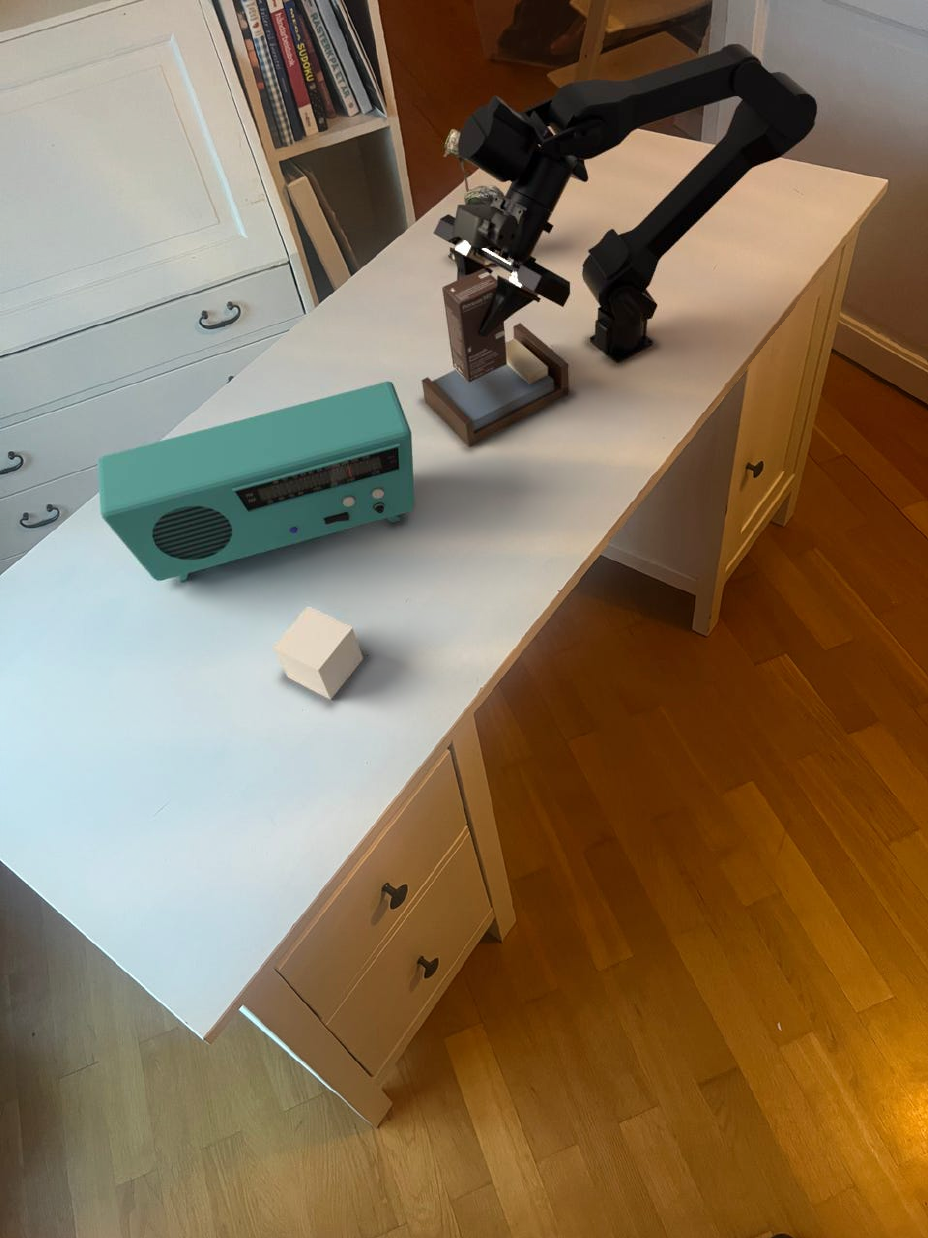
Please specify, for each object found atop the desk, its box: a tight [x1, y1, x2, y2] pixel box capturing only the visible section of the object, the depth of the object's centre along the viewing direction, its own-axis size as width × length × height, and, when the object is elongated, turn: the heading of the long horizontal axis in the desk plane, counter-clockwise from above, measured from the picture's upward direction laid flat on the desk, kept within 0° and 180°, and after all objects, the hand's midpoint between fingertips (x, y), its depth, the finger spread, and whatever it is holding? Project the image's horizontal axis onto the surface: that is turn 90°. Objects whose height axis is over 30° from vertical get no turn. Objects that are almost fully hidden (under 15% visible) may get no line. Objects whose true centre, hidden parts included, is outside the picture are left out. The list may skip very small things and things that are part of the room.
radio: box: [97, 381, 415, 582], centre depth 103 cm, size 34×10×15 cm, turn 105°
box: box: [441, 268, 507, 383], centre depth 108 cm, size 6×4×12 cm
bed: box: [421, 322, 570, 448], centre depth 117 cm, size 16×11×5 cm
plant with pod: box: [442, 128, 506, 266], centre depth 130 cm, size 8×11×20 cm
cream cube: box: [272, 605, 364, 701], centre depth 94 cm, size 6×6×6 cm
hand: (468, 326), depth 108 cm, fingers closed on box, 4 cm apart
